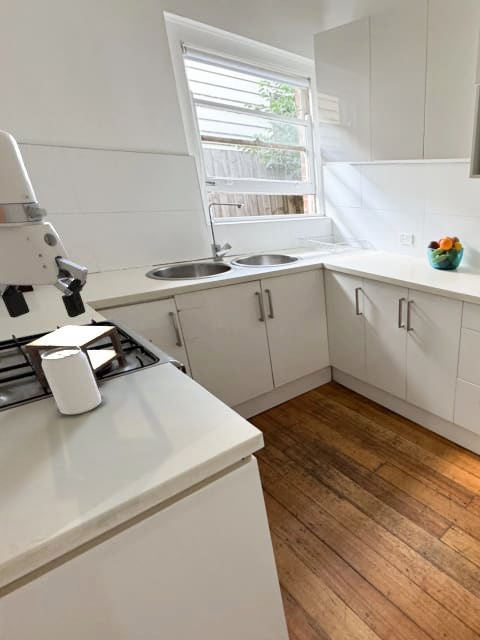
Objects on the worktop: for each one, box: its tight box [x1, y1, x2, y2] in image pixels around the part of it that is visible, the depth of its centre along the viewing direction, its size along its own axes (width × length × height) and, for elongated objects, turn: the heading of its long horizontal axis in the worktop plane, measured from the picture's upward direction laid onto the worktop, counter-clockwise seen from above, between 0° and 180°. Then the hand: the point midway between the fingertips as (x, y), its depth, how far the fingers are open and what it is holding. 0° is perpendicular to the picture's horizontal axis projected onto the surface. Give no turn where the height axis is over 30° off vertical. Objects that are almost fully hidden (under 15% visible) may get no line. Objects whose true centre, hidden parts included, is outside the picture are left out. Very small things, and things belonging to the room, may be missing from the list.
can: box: [40, 346, 102, 416], centre depth 73 cm, size 6×6×12 cm
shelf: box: [24, 325, 128, 388], centre depth 85 cm, size 11×11×10 cm
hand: (49, 314), depth 68 cm, fingers open, 9 cm apart
